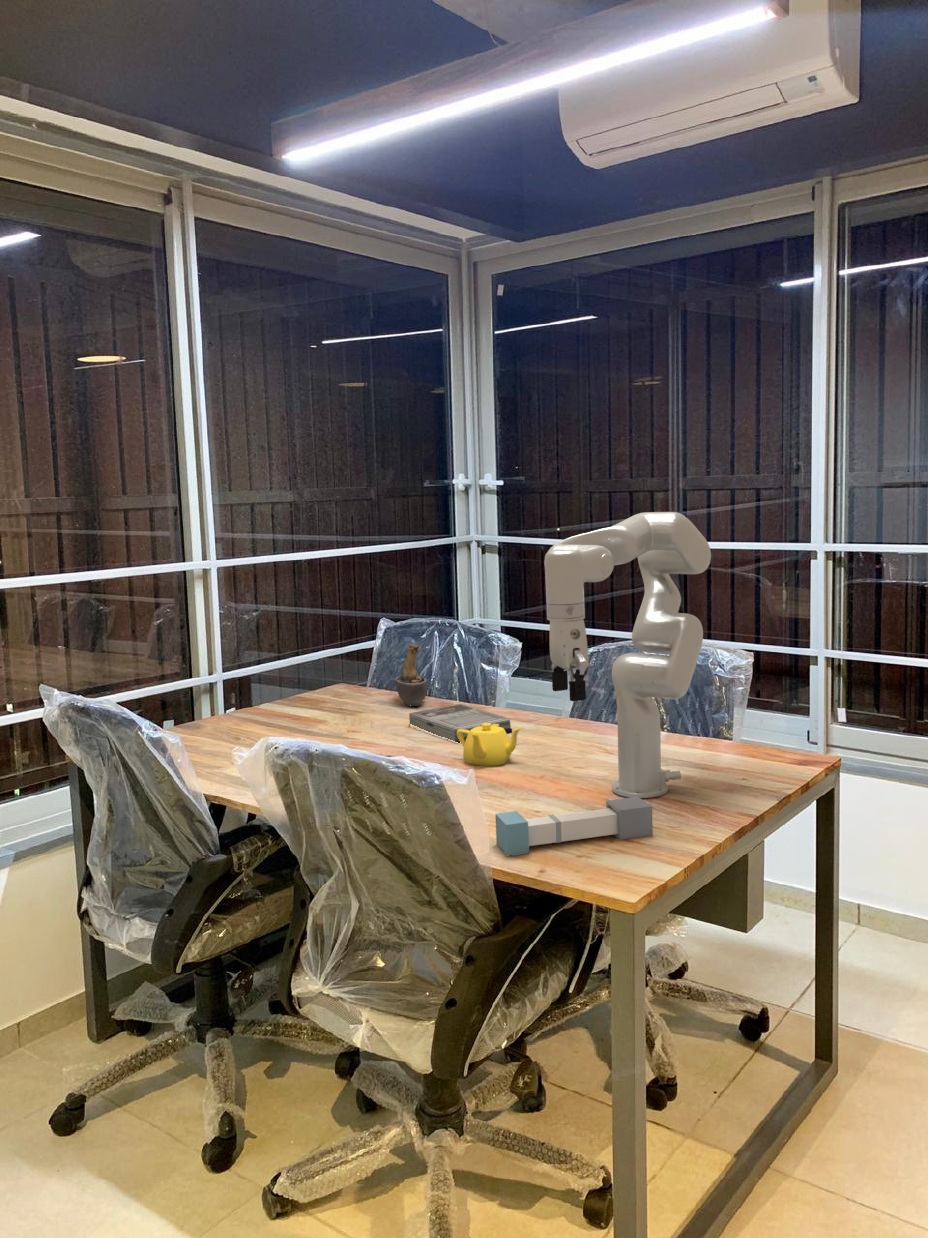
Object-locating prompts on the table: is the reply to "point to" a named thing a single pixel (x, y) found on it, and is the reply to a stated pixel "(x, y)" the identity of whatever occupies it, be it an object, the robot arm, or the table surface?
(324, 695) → the table surface
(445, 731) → the hard drive
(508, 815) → the socket
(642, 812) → the sleeve
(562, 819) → the bar
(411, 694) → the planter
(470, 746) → the teapot
